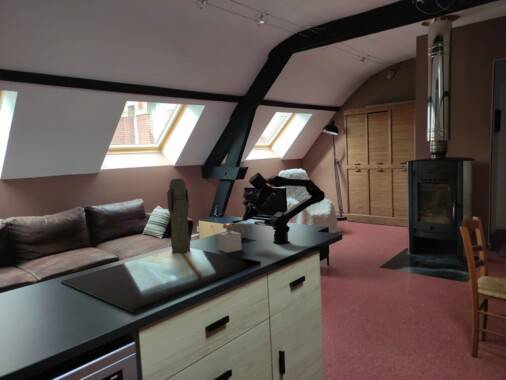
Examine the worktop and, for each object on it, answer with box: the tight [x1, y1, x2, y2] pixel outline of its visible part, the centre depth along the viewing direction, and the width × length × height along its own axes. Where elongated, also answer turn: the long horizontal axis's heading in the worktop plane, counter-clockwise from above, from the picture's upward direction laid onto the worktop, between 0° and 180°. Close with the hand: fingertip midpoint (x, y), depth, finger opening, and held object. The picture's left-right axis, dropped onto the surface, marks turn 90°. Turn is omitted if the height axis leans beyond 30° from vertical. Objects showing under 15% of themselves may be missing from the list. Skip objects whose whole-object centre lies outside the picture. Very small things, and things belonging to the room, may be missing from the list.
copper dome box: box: [217, 231, 242, 254], centre depth 187 cm, size 8×10×8 cm
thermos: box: [166, 178, 191, 254], centre depth 185 cm, size 9×12×35 cm
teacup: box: [226, 222, 253, 240], centre depth 210 cm, size 14×11×8 cm
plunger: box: [222, 222, 235, 234], centre depth 185 cm, size 6×6×7 cm
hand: (243, 220), depth 188 cm, fingers closed
